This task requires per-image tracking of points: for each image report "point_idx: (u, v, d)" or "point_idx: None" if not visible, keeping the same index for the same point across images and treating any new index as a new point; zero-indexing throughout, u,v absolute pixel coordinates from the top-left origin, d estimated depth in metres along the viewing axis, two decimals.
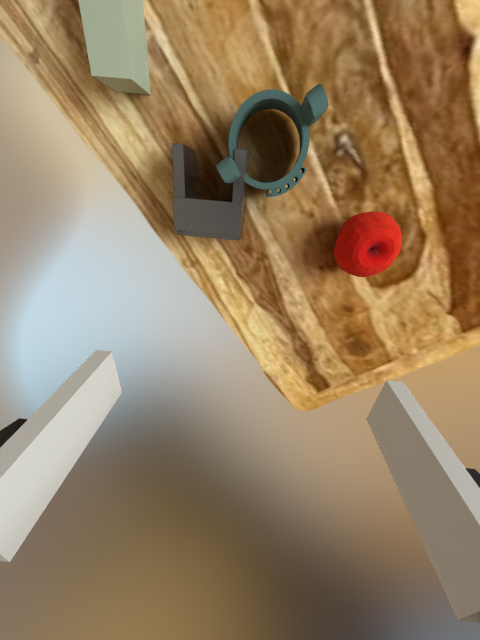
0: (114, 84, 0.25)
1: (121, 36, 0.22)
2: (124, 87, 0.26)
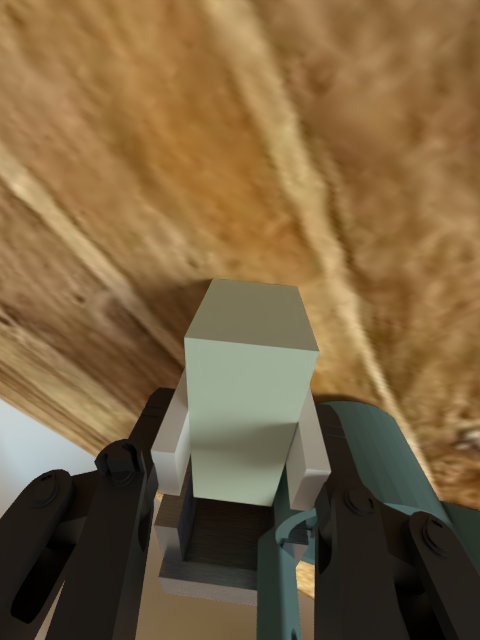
0: None
1: (269, 476, 0.11)
2: None
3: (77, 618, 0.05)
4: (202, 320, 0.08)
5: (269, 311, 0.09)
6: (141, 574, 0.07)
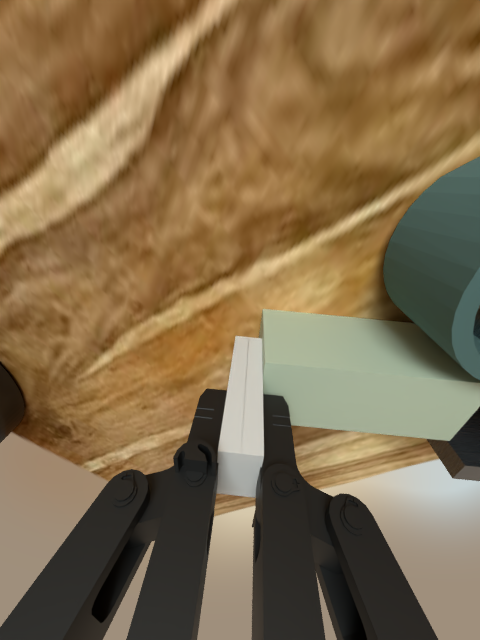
0: None
1: (426, 386, 0.10)
2: None
3: (158, 613, 0.05)
4: None
5: None
6: (204, 579, 0.07)
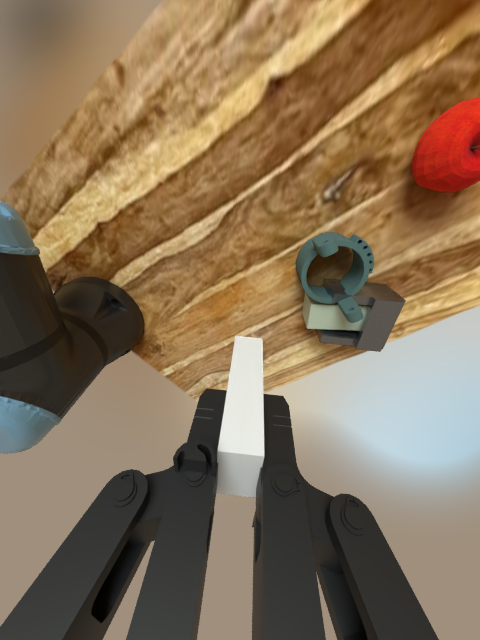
0: None
1: (362, 309, 0.33)
2: None
3: (157, 613, 0.05)
4: (306, 323, 0.36)
5: (307, 306, 0.36)
6: (203, 579, 0.07)
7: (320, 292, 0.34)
